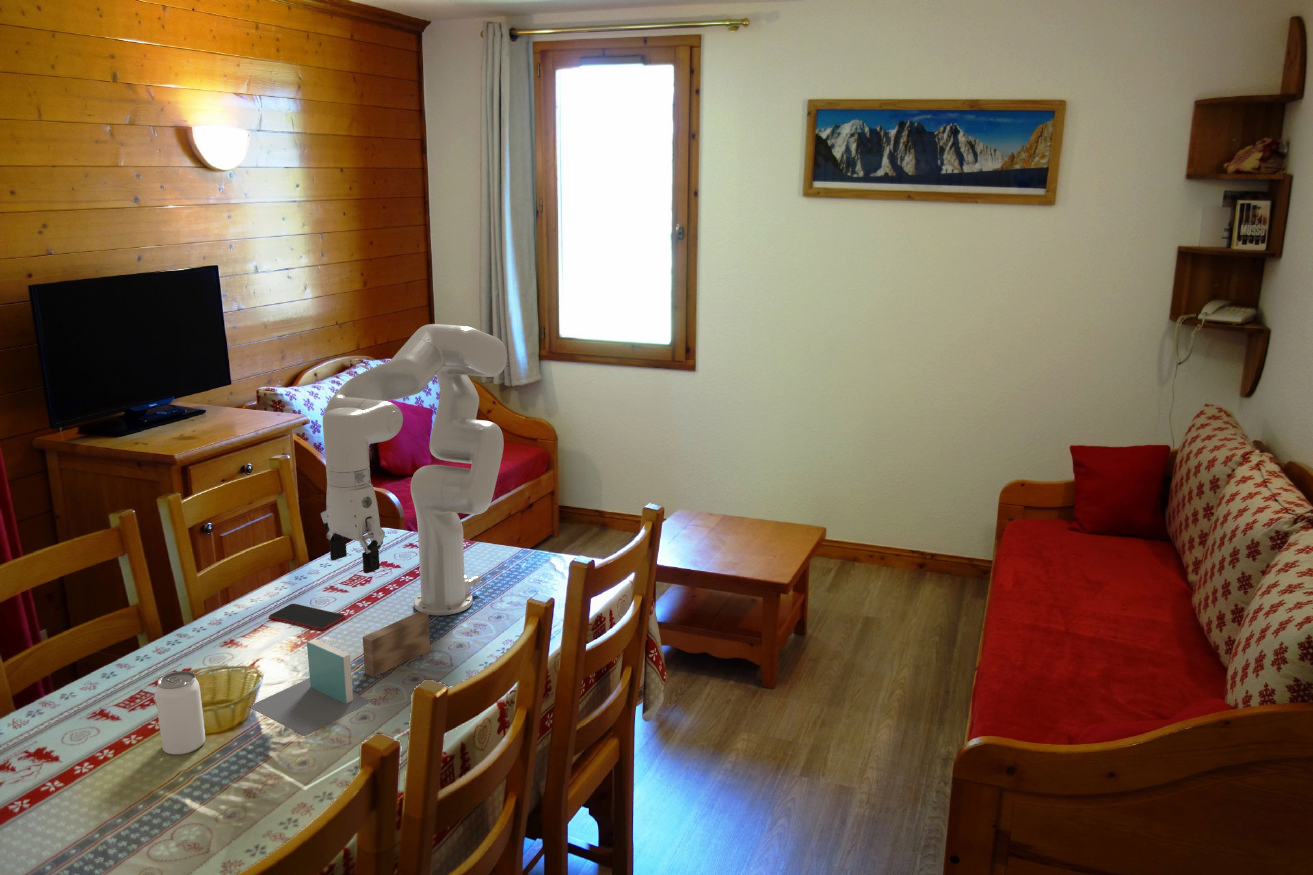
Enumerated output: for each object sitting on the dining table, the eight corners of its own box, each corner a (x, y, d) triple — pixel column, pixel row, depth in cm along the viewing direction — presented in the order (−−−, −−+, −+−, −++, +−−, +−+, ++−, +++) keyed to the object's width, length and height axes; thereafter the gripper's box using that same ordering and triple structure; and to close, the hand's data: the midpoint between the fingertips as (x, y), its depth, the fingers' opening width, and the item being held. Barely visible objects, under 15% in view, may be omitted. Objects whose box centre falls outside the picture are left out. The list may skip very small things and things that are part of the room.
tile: (317, 683, 182) (314, 638, 180) (353, 699, 177) (349, 654, 174) (310, 686, 181) (306, 641, 179) (345, 703, 175) (342, 657, 173)
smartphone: (292, 602, 216) (346, 615, 210) (292, 606, 216) (347, 619, 210) (267, 615, 209) (322, 628, 204) (267, 619, 210) (322, 633, 204)
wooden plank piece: (421, 648, 198) (419, 611, 195) (430, 651, 196) (428, 614, 194) (365, 675, 186) (362, 636, 184) (373, 679, 185) (371, 640, 183)
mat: (315, 676, 185) (315, 675, 185) (371, 703, 176) (371, 701, 176) (248, 708, 174) (248, 706, 174) (304, 737, 165) (304, 735, 165)
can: (177, 760, 158) (169, 693, 155) (154, 748, 162) (145, 682, 159) (214, 742, 164) (206, 676, 161) (190, 730, 167) (182, 665, 164)
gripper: (396, 480, 177) (401, 569, 181) (336, 463, 187) (343, 547, 191) (361, 491, 171) (367, 582, 175) (302, 472, 181) (309, 559, 185)
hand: (355, 564), depth 183 cm, fingers open, 9 cm apart
